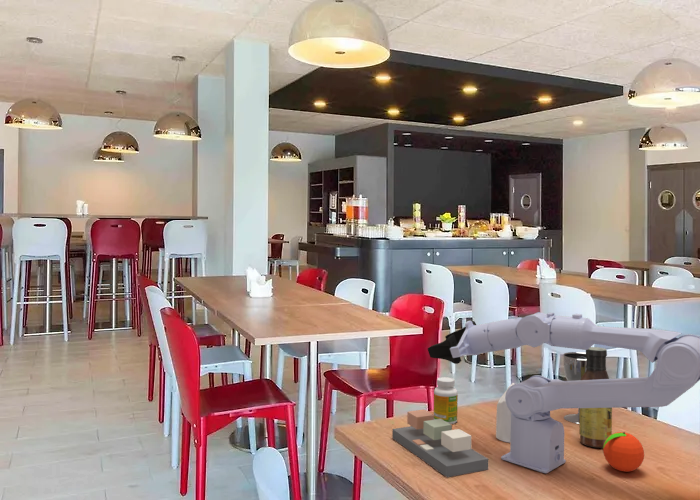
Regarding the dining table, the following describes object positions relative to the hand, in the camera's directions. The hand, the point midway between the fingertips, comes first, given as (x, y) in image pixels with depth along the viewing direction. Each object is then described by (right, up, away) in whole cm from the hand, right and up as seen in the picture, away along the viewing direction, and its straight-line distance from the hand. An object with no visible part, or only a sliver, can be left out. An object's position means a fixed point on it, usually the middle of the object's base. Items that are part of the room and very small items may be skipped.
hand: (438, 346), depth 126 cm
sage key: (-2, -16, -10) cm, 19 cm away
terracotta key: (-4, -16, -4) cm, 17 cm away
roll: (+15, -20, -1) cm, 25 cm away
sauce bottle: (+32, -20, -4) cm, 38 cm away
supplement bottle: (+3, -19, +10) cm, 22 cm away
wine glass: (+35, -19, +12) cm, 42 cm away
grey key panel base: (-2, -20, -10) cm, 22 cm away
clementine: (+31, -20, -17) cm, 41 cm away
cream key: (+1, -16, -16) cm, 23 cm away
